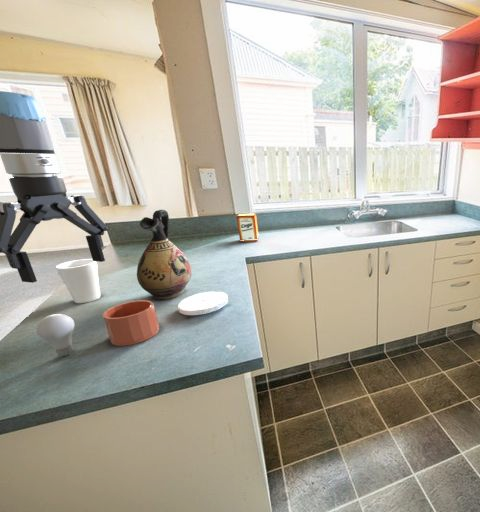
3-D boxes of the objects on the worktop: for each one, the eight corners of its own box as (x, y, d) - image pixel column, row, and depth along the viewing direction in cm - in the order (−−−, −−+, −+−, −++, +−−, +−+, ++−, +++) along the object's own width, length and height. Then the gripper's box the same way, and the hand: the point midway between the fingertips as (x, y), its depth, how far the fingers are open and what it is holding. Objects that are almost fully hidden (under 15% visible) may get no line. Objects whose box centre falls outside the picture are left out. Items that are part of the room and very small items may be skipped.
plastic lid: (235, 307, 98) (234, 300, 97) (187, 323, 88) (185, 315, 87) (219, 294, 107) (217, 288, 106) (173, 307, 97) (172, 300, 96)
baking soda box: (240, 242, 173) (236, 215, 168) (242, 239, 179) (238, 213, 174) (257, 241, 176) (254, 214, 171) (259, 238, 182) (255, 212, 177)
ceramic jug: (183, 302, 100) (164, 215, 91) (132, 305, 98) (107, 215, 89) (203, 282, 116) (189, 206, 107) (160, 284, 114) (142, 207, 105)
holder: (100, 346, 77) (91, 318, 74) (131, 324, 86) (124, 300, 84) (141, 345, 77) (133, 318, 74) (167, 324, 87) (162, 300, 84)
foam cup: (103, 301, 100) (92, 265, 96) (65, 308, 95) (51, 270, 91) (108, 291, 108) (98, 257, 104) (72, 297, 103) (60, 261, 99)
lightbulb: (80, 344, 77) (67, 307, 73) (86, 353, 74) (73, 314, 70) (46, 356, 72) (30, 317, 69) (50, 366, 69) (34, 325, 65)
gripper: (-41, 179, 49) (6, 294, 56) (112, 173, 73) (133, 255, 79) (-75, 178, 51) (-24, 291, 57) (87, 172, 74) (109, 253, 81)
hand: (67, 270), depth 68 cm, fingers open, 13 cm apart
